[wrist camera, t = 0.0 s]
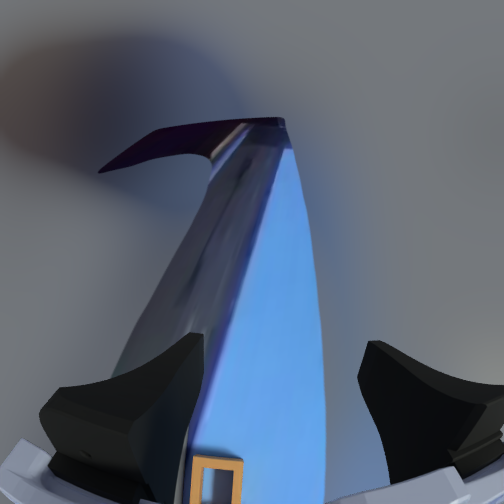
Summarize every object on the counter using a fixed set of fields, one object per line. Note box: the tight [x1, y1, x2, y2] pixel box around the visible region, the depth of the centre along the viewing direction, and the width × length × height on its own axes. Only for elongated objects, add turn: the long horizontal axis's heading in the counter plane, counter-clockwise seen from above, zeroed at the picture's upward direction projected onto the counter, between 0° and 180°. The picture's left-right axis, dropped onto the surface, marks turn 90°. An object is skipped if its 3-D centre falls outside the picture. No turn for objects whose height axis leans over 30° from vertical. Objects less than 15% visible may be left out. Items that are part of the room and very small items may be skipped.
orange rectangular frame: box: [190, 454, 244, 504], centre depth 27 cm, size 11×7×4 cm, turn 177°
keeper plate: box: [174, 426, 189, 504], centre depth 26 cm, size 20×14×6 cm
